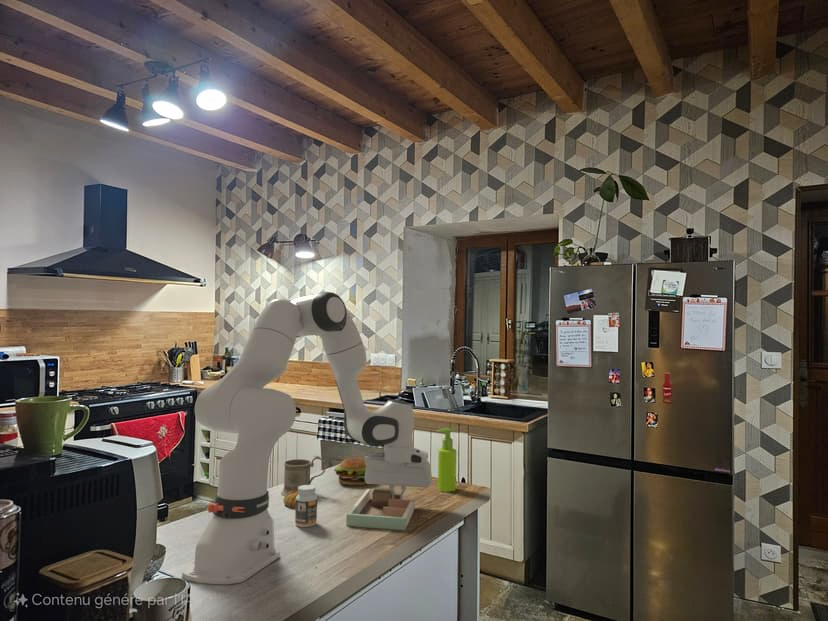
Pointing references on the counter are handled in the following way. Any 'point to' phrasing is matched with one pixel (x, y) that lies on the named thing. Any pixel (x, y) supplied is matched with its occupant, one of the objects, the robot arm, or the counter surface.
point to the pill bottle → (306, 506)
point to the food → (352, 471)
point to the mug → (298, 474)
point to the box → (392, 516)
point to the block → (381, 497)
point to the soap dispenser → (447, 464)
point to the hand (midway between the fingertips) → (397, 500)
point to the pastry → (291, 499)
